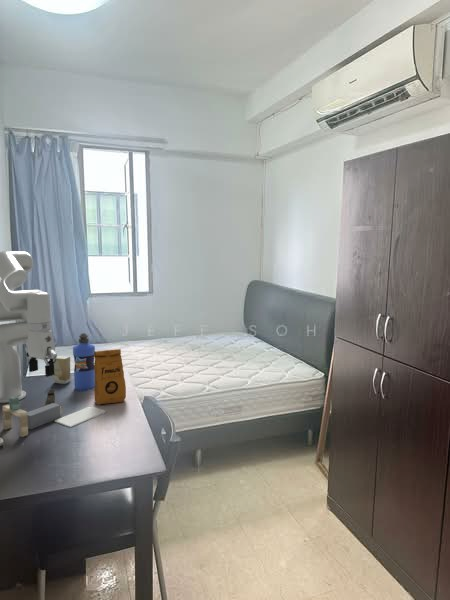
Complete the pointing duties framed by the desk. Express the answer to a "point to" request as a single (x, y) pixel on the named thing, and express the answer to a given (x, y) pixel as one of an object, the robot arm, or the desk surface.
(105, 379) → the coffee package
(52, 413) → the grey block with cap
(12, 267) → the robot arm
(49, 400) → the hand tool
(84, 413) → the mat
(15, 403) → the wooden arch block
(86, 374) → the blue bottle
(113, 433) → the desk surface
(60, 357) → the skincare box
